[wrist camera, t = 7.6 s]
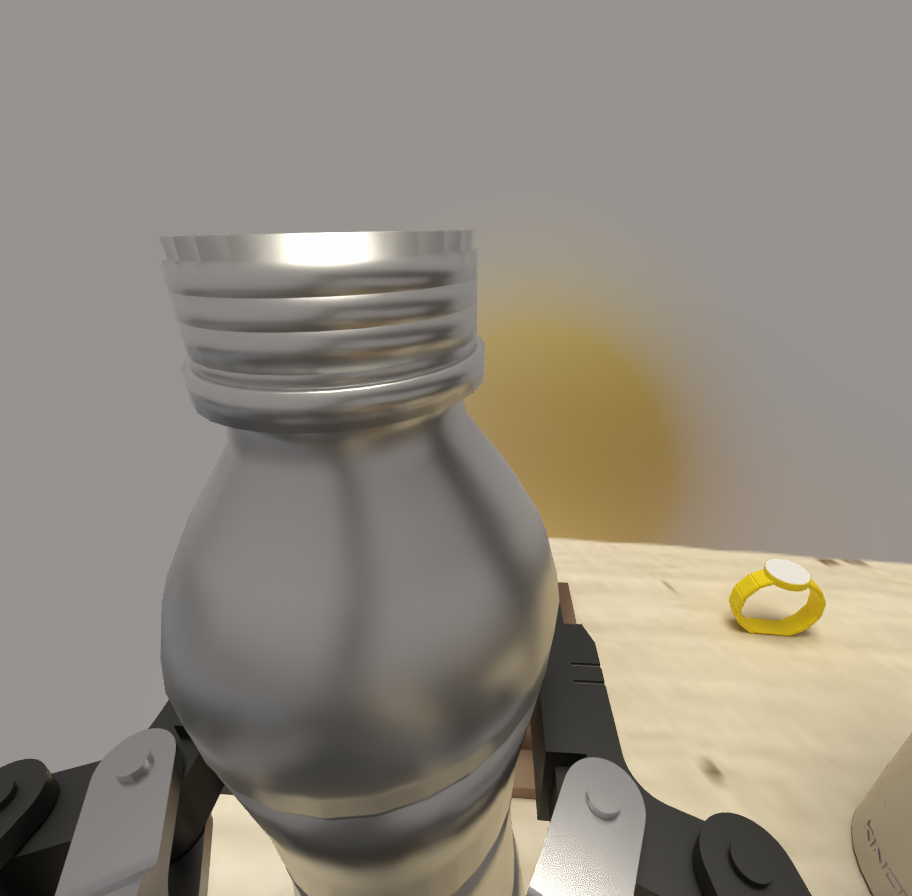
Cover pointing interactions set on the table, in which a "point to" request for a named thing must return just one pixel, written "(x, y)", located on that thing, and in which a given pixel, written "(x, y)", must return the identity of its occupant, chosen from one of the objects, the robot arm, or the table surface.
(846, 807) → the table surface
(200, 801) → the robot arm
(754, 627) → the watch
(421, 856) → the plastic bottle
